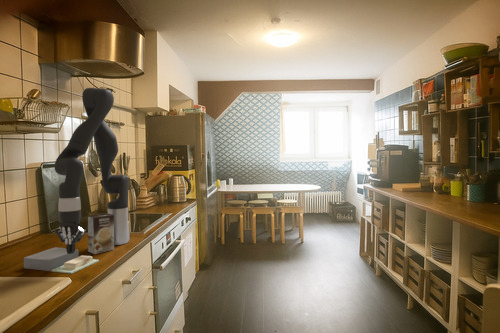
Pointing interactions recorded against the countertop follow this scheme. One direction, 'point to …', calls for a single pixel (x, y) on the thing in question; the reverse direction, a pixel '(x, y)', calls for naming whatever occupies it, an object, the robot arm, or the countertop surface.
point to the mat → (65, 270)
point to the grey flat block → (49, 259)
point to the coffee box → (100, 233)
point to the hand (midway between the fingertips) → (70, 253)
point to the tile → (78, 262)
